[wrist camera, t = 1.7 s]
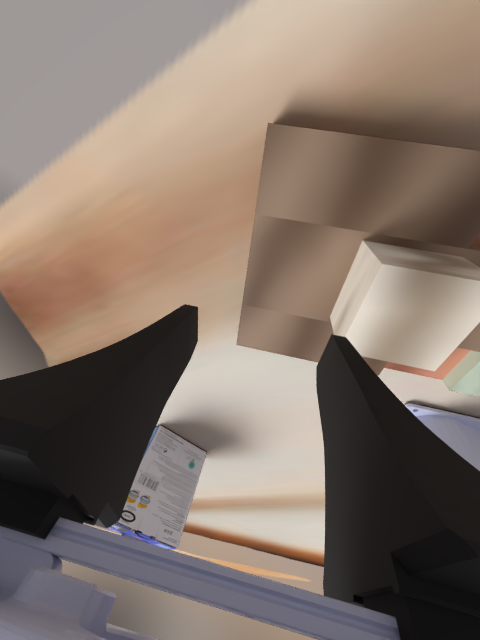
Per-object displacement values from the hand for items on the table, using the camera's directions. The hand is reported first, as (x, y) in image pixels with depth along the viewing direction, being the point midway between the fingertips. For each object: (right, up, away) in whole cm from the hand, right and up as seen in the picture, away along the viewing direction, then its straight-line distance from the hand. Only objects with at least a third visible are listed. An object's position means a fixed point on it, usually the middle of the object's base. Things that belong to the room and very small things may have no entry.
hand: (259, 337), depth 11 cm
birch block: (+10, +3, +6) cm, 11 cm away
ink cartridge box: (-12, -20, +29) cm, 37 cm away
